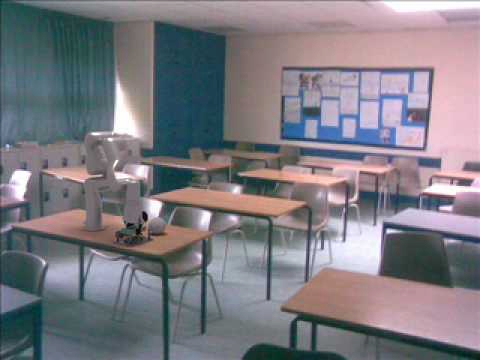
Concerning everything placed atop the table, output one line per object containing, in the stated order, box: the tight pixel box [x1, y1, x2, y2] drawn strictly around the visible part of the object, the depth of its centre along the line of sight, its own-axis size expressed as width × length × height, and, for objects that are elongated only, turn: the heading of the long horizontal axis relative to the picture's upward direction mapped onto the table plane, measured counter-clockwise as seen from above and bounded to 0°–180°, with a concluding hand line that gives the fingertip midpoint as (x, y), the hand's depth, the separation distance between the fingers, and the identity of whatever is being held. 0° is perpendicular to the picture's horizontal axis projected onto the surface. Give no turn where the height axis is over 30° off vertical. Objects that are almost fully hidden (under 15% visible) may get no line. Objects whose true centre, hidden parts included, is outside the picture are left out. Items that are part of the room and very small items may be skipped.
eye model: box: [148, 216, 167, 235], centre depth 318 cm, size 10×10×10 cm
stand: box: [115, 230, 130, 239], centre depth 313 cm, size 10×4×3 cm, turn 147°
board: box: [120, 224, 146, 236], centre depth 300 cm, size 12×7×4 cm, turn 147°
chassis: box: [113, 227, 154, 248], centre depth 301 cm, size 18×13×7 cm
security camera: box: [130, 210, 149, 226], centre depth 327 cm, size 7×18×10 cm, turn 156°
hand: (133, 233), depth 300 cm, fingers closed on board, 7 cm apart
